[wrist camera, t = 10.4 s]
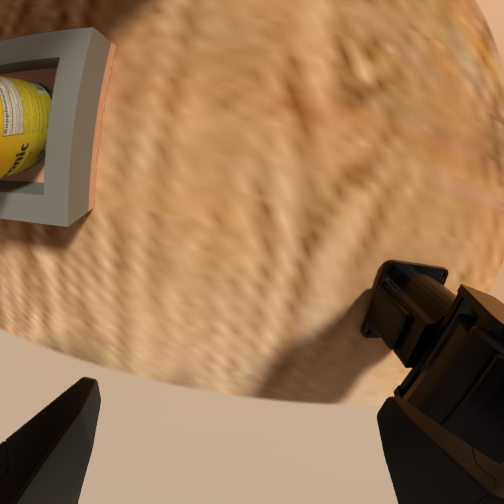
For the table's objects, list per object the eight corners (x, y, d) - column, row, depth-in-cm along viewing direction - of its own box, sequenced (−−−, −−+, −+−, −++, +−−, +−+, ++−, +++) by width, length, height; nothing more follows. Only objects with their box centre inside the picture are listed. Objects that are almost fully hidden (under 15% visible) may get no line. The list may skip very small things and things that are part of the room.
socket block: (116, 45, 14) (93, 27, 10) (94, 207, 17) (67, 226, 14) (-7, 58, 12) (-41, 52, 9) (-20, 196, 16) (-54, 212, 12)
